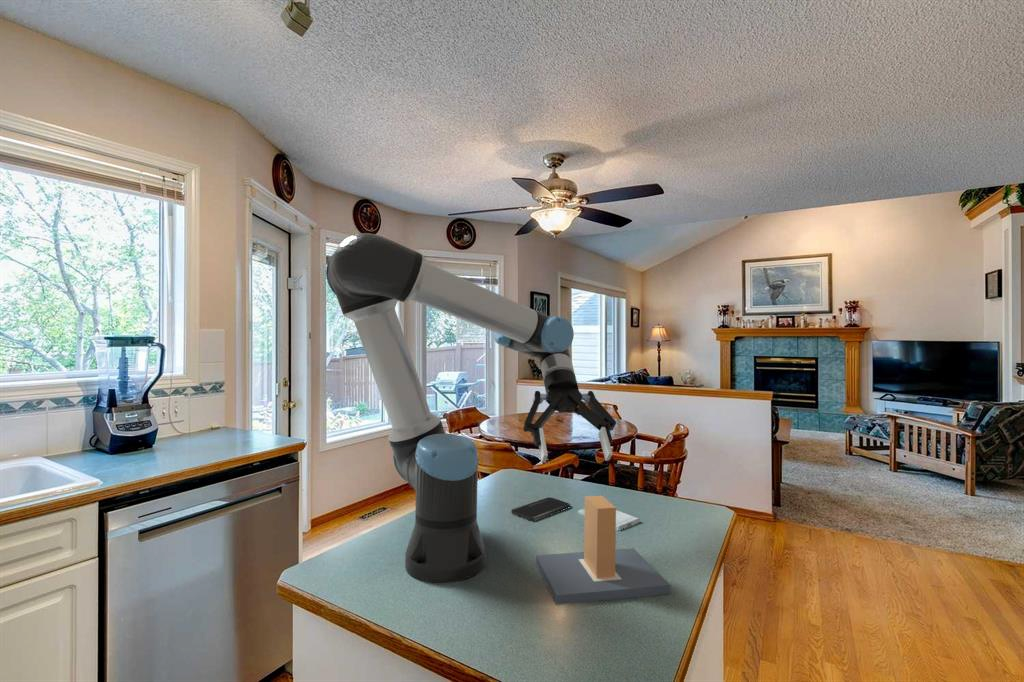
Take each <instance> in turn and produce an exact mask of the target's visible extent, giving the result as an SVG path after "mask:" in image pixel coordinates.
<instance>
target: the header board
mask: <svg viewBox="0 0 1024 682" xmlns="http://www.w3.org/2000/svg"><path fill="white" fill-rule="evenodd" d="M535 564H536V567H537V568H538V570H539V572H540V575H541V576H542V578H543V580H544V582H545V584H546V587H547V588H548V591H549V593H550V594H551V596H552V598H553V600H554V603H555V604H556V605H557V606H558V605H568V604H578V603H587V602H588V603H589V602H601V601H607V600H608V601H609V599H610V600H618V599H628V598H629V599H630V598H639V597H640V598H641V597H651V596H663V595H670V594H671V583H669V582H668V580H666V578H665V577H663V576H662V575H661V574H660V573H659V571H657V570H656V569H655V568H654V567H653V566H652V565H651V564H650V563H649V562H648V561H647V560H646V559H645V558H644V557H643V556H642V555H641V554H640V553H639V552H638V551H637V550H636V549H635V548H634V547H632V548H631V547H630V548H618V549H617V548H615V577H606V578H596V577H595V575H594V574H593V573H592V571H591V570H590V568H589V567H588V566H587V564H586V563H585V562H584V551H577V552H568V553H567V552H564V553H563V552H561V553H552V554H550V553H549V554H540V555H539V554H537V555H535Z"/></svg>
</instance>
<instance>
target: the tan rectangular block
mask: <svg viewBox="0 0 1024 682" xmlns="http://www.w3.org/2000/svg"><path fill="white" fill-rule="evenodd" d="M584 508H585V517H584V521H583V522H584V534H583V535H584V536H583V538H584V539H583V542H584V543H583V545H584V546H583V552H584V562H585V563H586V564H587V566H588V567H589V568H590V570H591V571H592V573H593V574H594V575H595V577H596V578H606V577H615V549H616V540H617V539H616V535H617V534H616V533H617V532H616V531H617V530H616V510H617V507H616V506H614V504H612V503H611V502H610V501H609V500H608V499H607V498H605V497H604V496H603V495H589V496H588V495H587V496H584Z"/></svg>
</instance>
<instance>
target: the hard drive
mask: <svg viewBox="0 0 1024 682" xmlns="http://www.w3.org/2000/svg"><path fill="white" fill-rule="evenodd" d="M578 513H579V514H581V515H584V516H585V507H584V508H582V509H578V511H577V514H578ZM640 519H641V518H639V517H636V516H633V515H630V514H628V513H625V512H622V511H620V510H618V509H616V529H617V530H616V531H618V530H619V529H622V528H624V529H626V528H625V527H627V526H629V527H631V526H630V525H632V526H634V525H637V524H639V523H640V522H641V520H640ZM638 522H639V523H638ZM636 523H637V524H636ZM633 524H634V525H633ZM627 528H628V527H627ZM622 530H623V529H622ZM619 531H620V530H619Z"/></svg>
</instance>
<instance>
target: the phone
mask: <svg viewBox="0 0 1024 682" xmlns="http://www.w3.org/2000/svg"><path fill="white" fill-rule="evenodd" d="M568 507H570V508H571V504H570V503H569V502H566V501H562V500H560V499H558V498H554V497H545V498H542V499H539V500H536V501H534V502H530V503H527V504H523V505H522V506H518V507H515V508H512V509H511V511H510V513H512V514H513V516H515V517H517V516H519V517H521V518H520V519H522V518H523V520H525V519H526V520H525V521H527V520H528V521H527V522H530V521H534V522H537V521H540V520H542V519H541V518H543V519H545V518H547V517H546V516H548V517H550V516H549V515H551V514H553V515H555V514H554V513H556V512H558V511H561V510H563V509H566V508H568ZM561 512H562V511H561ZM512 514H511V515H512ZM556 514H557V513H556ZM551 516H552V515H551ZM544 517H545V518H544ZM539 519H540V520H539ZM536 520H537V521H536Z"/></svg>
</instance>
